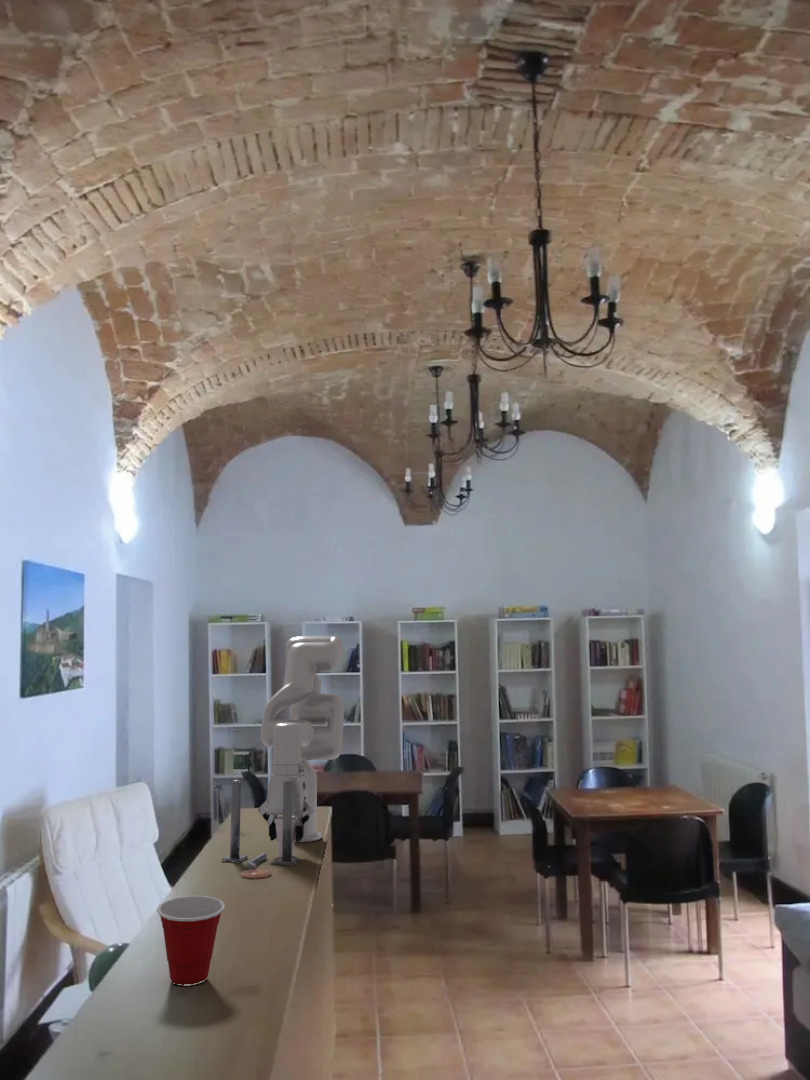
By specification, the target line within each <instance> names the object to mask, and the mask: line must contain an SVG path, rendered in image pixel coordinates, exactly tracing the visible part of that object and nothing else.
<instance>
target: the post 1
mask: <svg viewBox="0 0 810 1080" xmlns="http://www.w3.org/2000/svg"><path fill="white" fill-rule="evenodd" d="M230 798H231V801H230V803H231V804H230V840H229V843H230V844H229V847H230V848H229V849H230V850H229V854H227V855H226V856H224V857H222V858H221V861H222V860H225V861H234V862H233V863H236V862H240V863H242V862H244V861H245V860H244V859H246V858H247V859H248V854H241V853H240V852H241V851H240V850H241V849H240V848H241V847H240V845H241V810H242V809H241V808H242V807H241V805H242V804H241V803H242V799H241V798H242V780H241V779H233V780H231V795H230ZM247 859H246V860H247ZM243 860H244V861H243ZM241 861H242V862H241Z"/></svg>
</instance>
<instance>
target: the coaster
mask: <svg viewBox="0 0 810 1080" xmlns="http://www.w3.org/2000/svg"><path fill="white" fill-rule="evenodd" d="M271 873H272V872H271V870H269V869H263V868H256V869H251V870H248V869H247V870H243V871H241V873H240V877H241V878H244V877H246V878H245V879H249V878H253V879H265V878H268V876H269V877H270V876H271ZM264 877H265V878H264ZM253 879H252V880H253Z"/></svg>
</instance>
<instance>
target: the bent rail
mask: <svg viewBox="0 0 810 1080" xmlns="http://www.w3.org/2000/svg"><path fill="white" fill-rule="evenodd" d="M267 855H268V853H267V852H262V853H260V854H258V855H257V856H255V857H253V858H251V859H250V860H248V861H247V862H246V869H247V870H248V869H249V870H251V869H258V868H257V864H258V865H260V864H261V863H263V862H264V861H266V860H267V859H268V858H267ZM265 859H266V860H265Z"/></svg>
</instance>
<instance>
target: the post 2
mask: <svg viewBox="0 0 810 1080" xmlns="http://www.w3.org/2000/svg"><path fill="white" fill-rule="evenodd" d="M292 802H293V782H292V781H286V782H283V815H282V816H283V836H282V857H278V858H277V859H274V861H273V864H275V865H276V864H277V866H278V865H279V866H294V865H296V864H298V863H299V862H300V857H293V856H292Z"/></svg>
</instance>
